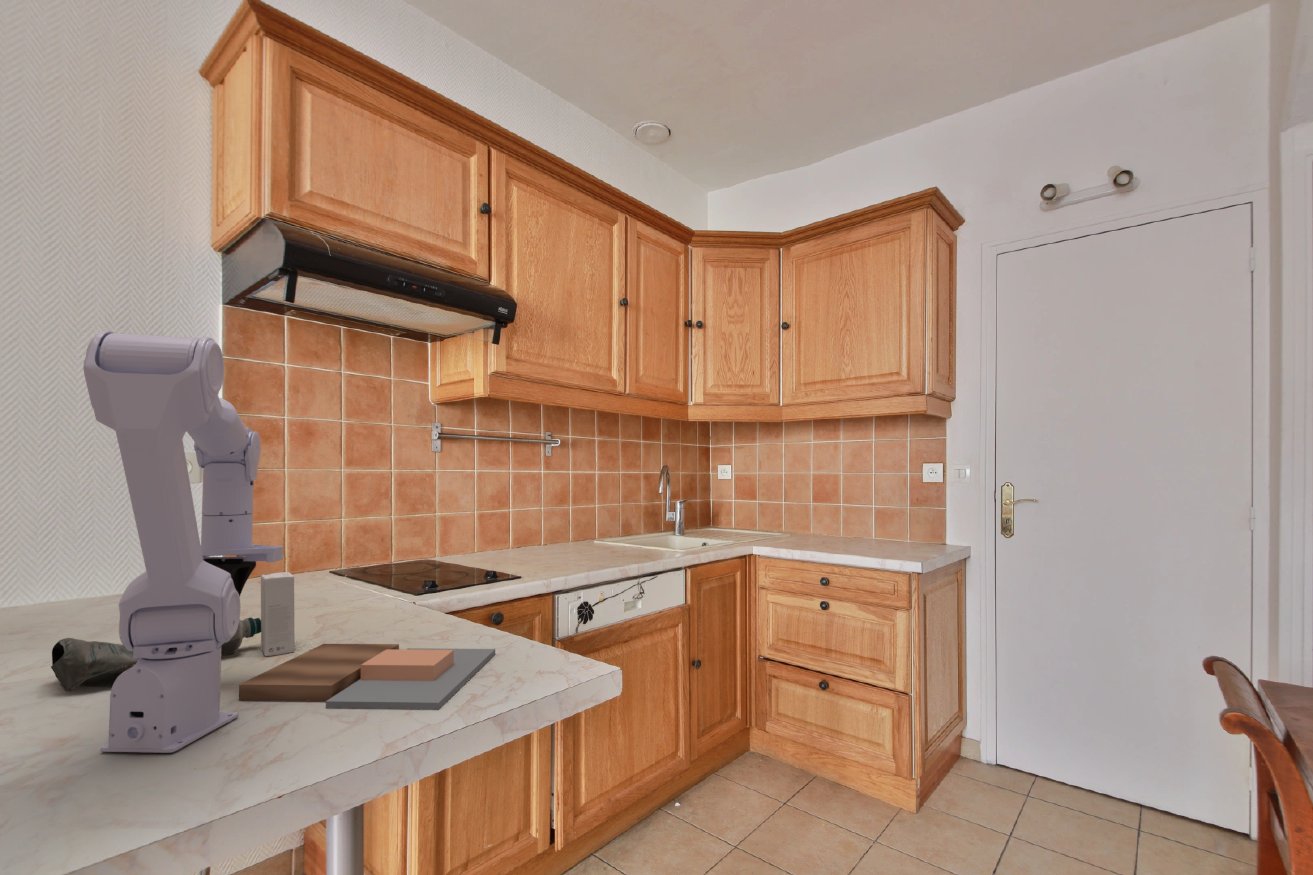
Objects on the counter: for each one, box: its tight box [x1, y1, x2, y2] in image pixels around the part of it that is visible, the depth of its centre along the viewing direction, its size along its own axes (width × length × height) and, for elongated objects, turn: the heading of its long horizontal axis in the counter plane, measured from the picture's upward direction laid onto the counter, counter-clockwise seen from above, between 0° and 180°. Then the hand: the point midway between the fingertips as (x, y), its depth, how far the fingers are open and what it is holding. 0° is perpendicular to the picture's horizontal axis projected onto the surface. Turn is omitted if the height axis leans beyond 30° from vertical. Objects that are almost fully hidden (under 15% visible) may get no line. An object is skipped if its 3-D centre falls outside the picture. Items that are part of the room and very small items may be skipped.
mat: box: [325, 647, 496, 710], centre depth 85 cm, size 22×14×1 cm, turn 177°
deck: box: [238, 643, 400, 703], centre depth 86 cm, size 18×12×2 cm, turn 177°
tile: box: [361, 649, 454, 681], centre depth 85 cm, size 7×10×2 cm
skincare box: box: [260, 571, 296, 657], centre depth 99 cm, size 6×4×12 cm
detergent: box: [50, 617, 261, 692], centre depth 91 cm, size 13×7×25 cm
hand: (224, 615), depth 83 cm, fingers closed
